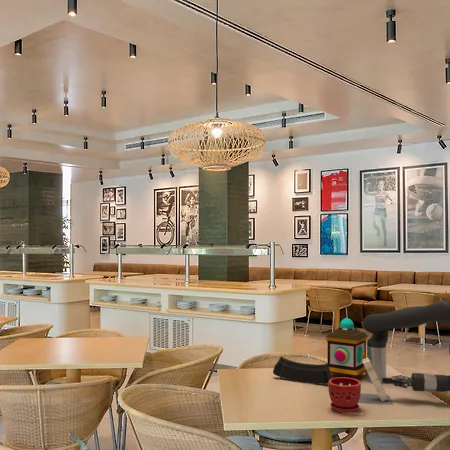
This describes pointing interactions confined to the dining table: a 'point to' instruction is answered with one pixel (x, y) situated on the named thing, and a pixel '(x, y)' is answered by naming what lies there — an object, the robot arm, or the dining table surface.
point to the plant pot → (344, 394)
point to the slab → (375, 379)
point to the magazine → (302, 372)
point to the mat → (374, 399)
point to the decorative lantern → (347, 350)
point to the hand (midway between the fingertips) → (382, 380)
